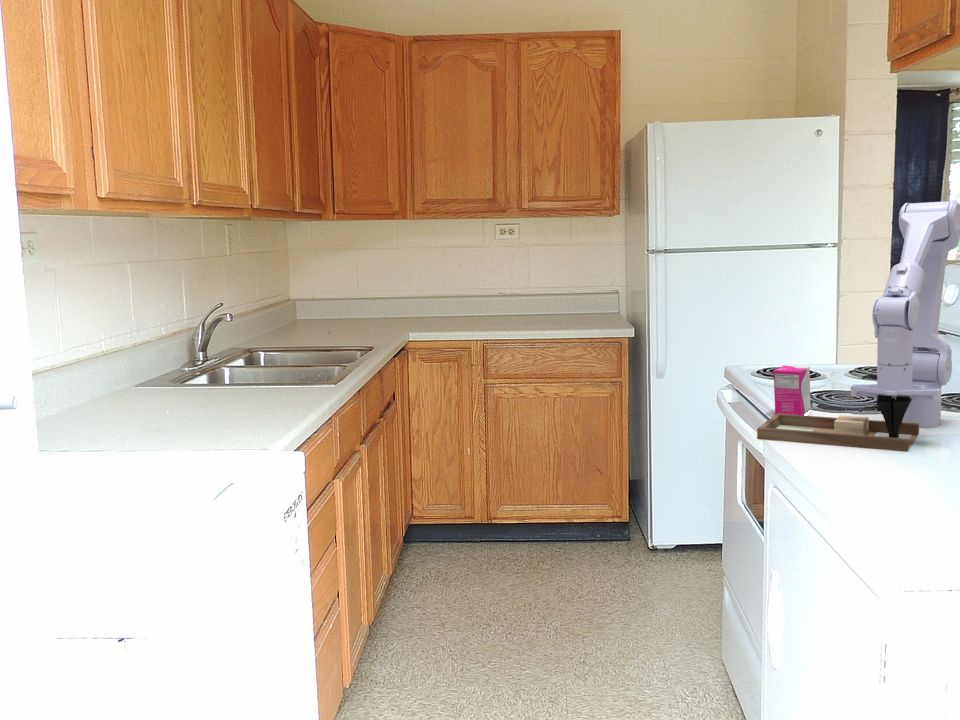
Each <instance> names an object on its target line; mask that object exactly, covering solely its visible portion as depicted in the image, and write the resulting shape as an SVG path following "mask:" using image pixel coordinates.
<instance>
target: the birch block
mask: <svg viewBox="0 0 960 720" xmlns="http://www.w3.org/2000/svg"><path fill="white" fill-rule="evenodd" d="M836 418H837V419H836V420H835V421H834V433H839V434H852V435H865V436H868V422H869V420H870V417H869V416H856V415H855V416H854V415H842V414H841V415H839V416H838V417H836Z"/></svg>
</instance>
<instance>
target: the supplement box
mask: <svg viewBox="0 0 960 720" xmlns="http://www.w3.org/2000/svg"><path fill="white" fill-rule="evenodd" d="M810 372H811V371H810V366H809V365H807V366H806V365H802V366H801V365H799V366H798V365H782V366H781V367H777V368H776V369H773V388H774V389H773V391H774V392H773V393H774V415H775V414H789V415H804V414H805V413H806V412H808V411H809V410H810V409H811V410H812V408H811V407H812V406H811V405H812V404H811V376H810V375H811V374H810Z"/></svg>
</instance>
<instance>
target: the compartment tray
mask: <svg viewBox="0 0 960 720" xmlns="http://www.w3.org/2000/svg"><path fill="white" fill-rule="evenodd" d="M837 418H838V417H829V416H818V415H817V416H814V415H808V416H804V415H789V414H775V413H774V414H773V416H771V417H770V418H769V419H768V420H766V421H765V422H764V423H762V424H761V425H760V426H758V427H757V431H756V434H757V435H756V436H757V437H756V438H757V440H766V441H777V442H788V443H789V442H790V443H803V444H813V445H825V446H837V447H846V448H848V447H849V448H859V449H860V448H861V449H870V450H871V449H872V450H884V451H885V450H886V451H894V452H895V451H897V452H909V451H910V449H911V447H913V444H914V442H915V441H916V440H917V438H918V436H919V435H920V428H919V423H906V422H902V423H901V427H900V432H899V435H906V436H907V435H910V437H909V438H901V437H898V438H891V437H889V436H888V437H887V436H876V434H877V433H881V434H882V433H883V434H888V429H887V426H886V422H885V420H877V419H876V420H875V419H869V422H868V436H865V435H852V434H839V433H834V421H835V420H836V419H837Z"/></svg>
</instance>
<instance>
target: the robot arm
mask: <svg viewBox="0 0 960 720" xmlns="http://www.w3.org/2000/svg"><path fill="white" fill-rule="evenodd" d="M898 227H899V231H900V232H901V235H902V238H903V239H904V241H903V246H902V250H901V256H900V261H899V263H897V264H895V265H893V266H892V267H891V268H890V272H889V276H888V279H887V282H886V285H885V288H884V290H883V294H882V296H881V297H880V298H879V299H878V298H877V299H876V300H874V302H873V303H874V304H873V306H872V315H871V317H872V324H873V327H874V337H875V338H876V339H877V343H876V344H877V348H876V351H877V357H876V358H877V361H876V363H877V366H876V367H877V369H876V372H877V373H876V374H877V375H876V383H875V384H873V383H872V384H869V383H868V384H856V383H855V384H854V383H853V384H852V385H850V397H853V398H854V397H856V398H857V397H870V398H877V400H876V404H877V408H878V409H879V411H880V413H881V416H882V417H883V419H884V420H883V421H885V422H886V426H887V429H888V433H887V434H888V437H891V438H900V437H899V436H900V434H899V432H900V427H901V423H902V422H906V423H919V429H920V428H921V429H930V428H931V429H932V428H937V427H940V426H941V425H942V424H941V423H942V422H941V418H942V417H941V415H942V387H943V386H946V385H947V384H948V383H949V382H950V380H951V377H952V373H953V371H952V370H953V360H952V353H953V352H952V349H951V345H949V344H948V343H947V342H946V341H945V340H943V338H941V337H940V336H939V335H938V332H939V325H940V324H939V323H940V317H941V316H940V315H941V306H942V299H943V290H944V282H945V274H946V266H947V261H948V258H949V257H948V256H949V252H950V251H951V250H953V249H956V248H957V247H959V241H960V203H959V201H957V199H954V200H950V201H946V200H945V201H934V202H933V201H930V202H929V201H928V202H914V203H912V202H911V203H910V202H906V203H903V205H902V206H901V208H900V210H899V213H898Z"/></svg>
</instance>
